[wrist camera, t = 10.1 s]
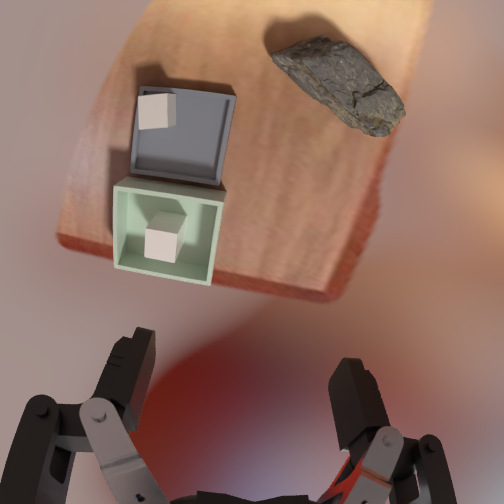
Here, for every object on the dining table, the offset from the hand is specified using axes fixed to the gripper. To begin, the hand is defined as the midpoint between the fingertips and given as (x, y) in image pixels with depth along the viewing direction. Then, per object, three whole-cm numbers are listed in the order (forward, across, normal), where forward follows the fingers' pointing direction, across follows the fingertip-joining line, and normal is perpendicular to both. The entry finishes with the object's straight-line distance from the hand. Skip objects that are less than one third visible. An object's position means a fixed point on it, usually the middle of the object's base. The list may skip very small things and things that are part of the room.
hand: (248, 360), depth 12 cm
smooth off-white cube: (+29, +12, -7) cm, 32 cm away
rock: (+30, -8, -15) cm, 34 cm away
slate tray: (+30, +10, -4) cm, 31 cm away
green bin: (+29, +10, +9) cm, 32 cm away
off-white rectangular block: (+29, +9, +9) cm, 32 cm away
